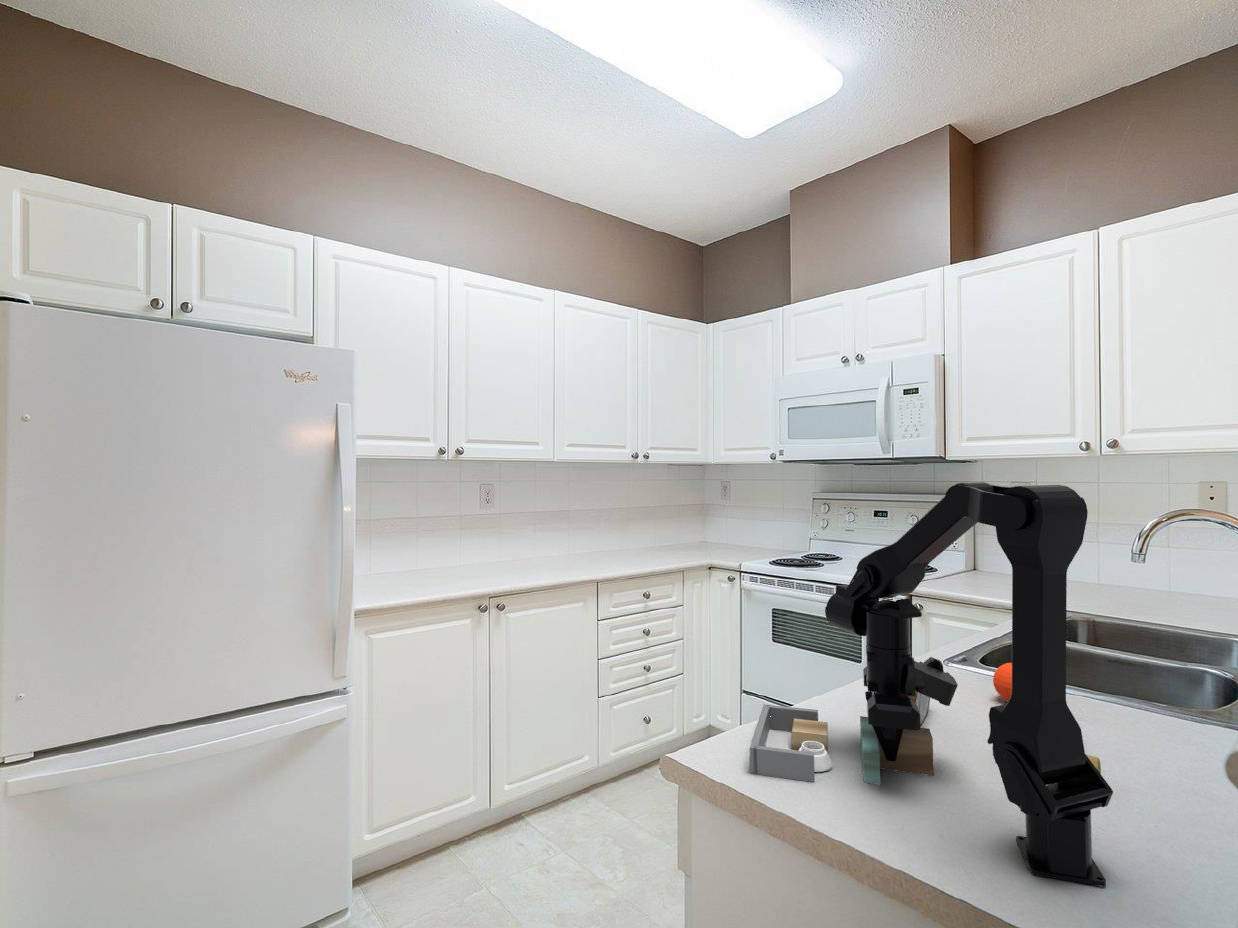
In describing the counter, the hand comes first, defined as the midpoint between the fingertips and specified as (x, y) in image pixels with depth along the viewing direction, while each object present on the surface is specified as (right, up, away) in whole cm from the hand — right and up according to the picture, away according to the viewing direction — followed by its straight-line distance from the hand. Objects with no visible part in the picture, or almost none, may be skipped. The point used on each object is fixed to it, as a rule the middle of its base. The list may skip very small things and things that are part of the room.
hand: (890, 754), depth 90 cm
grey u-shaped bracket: (-13, -2, +5) cm, 14 cm away
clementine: (+32, -1, +22) cm, 39 cm away
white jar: (-11, -2, 0) cm, 11 cm away
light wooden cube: (-9, -2, +7) cm, 12 cm away
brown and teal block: (+1, -1, 0) cm, 2 cm away
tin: (+10, -2, +14) cm, 18 cm away
